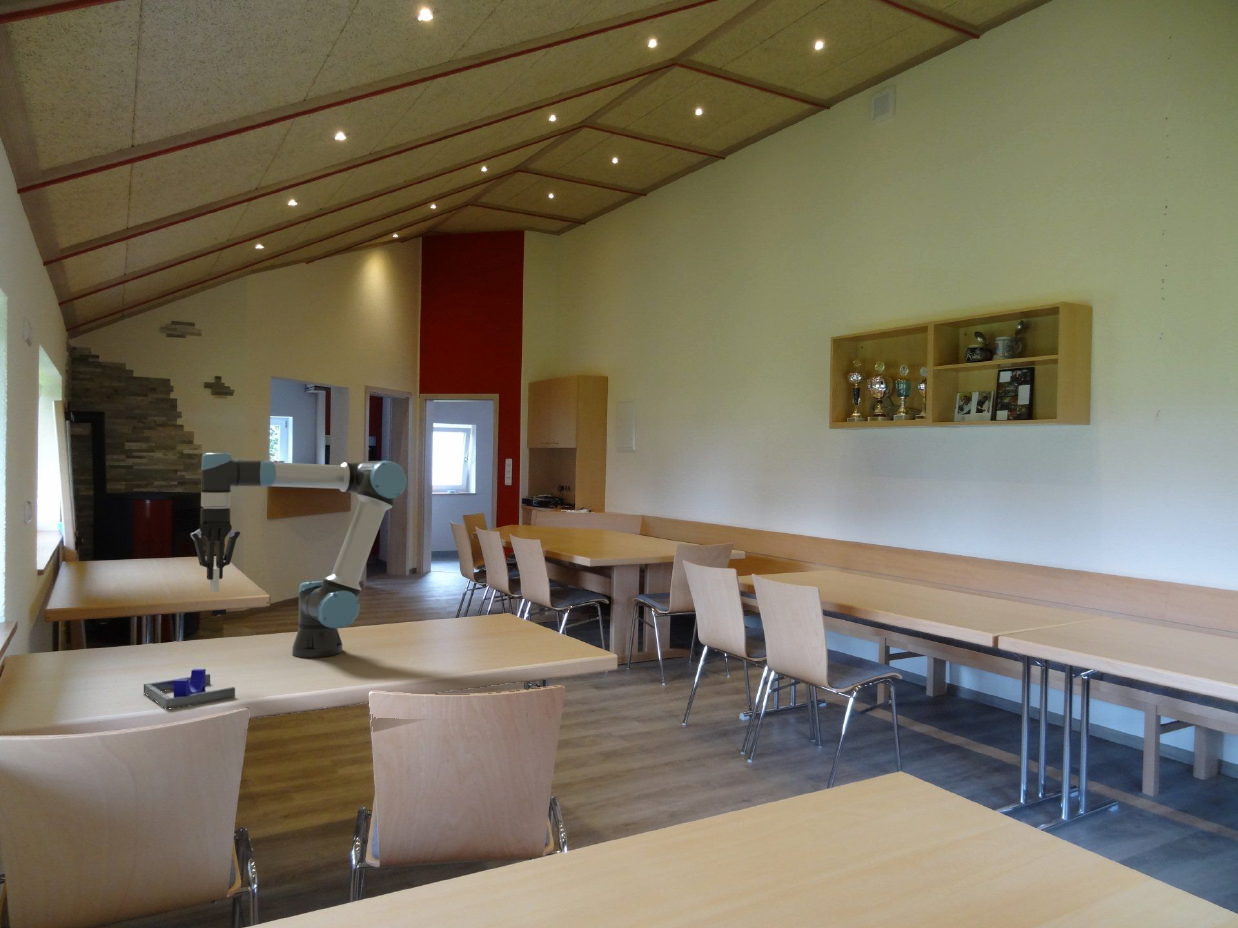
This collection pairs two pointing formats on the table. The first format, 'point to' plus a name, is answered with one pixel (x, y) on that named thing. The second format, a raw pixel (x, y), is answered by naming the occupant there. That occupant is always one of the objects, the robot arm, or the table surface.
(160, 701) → the bracket
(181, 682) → the cable clip
